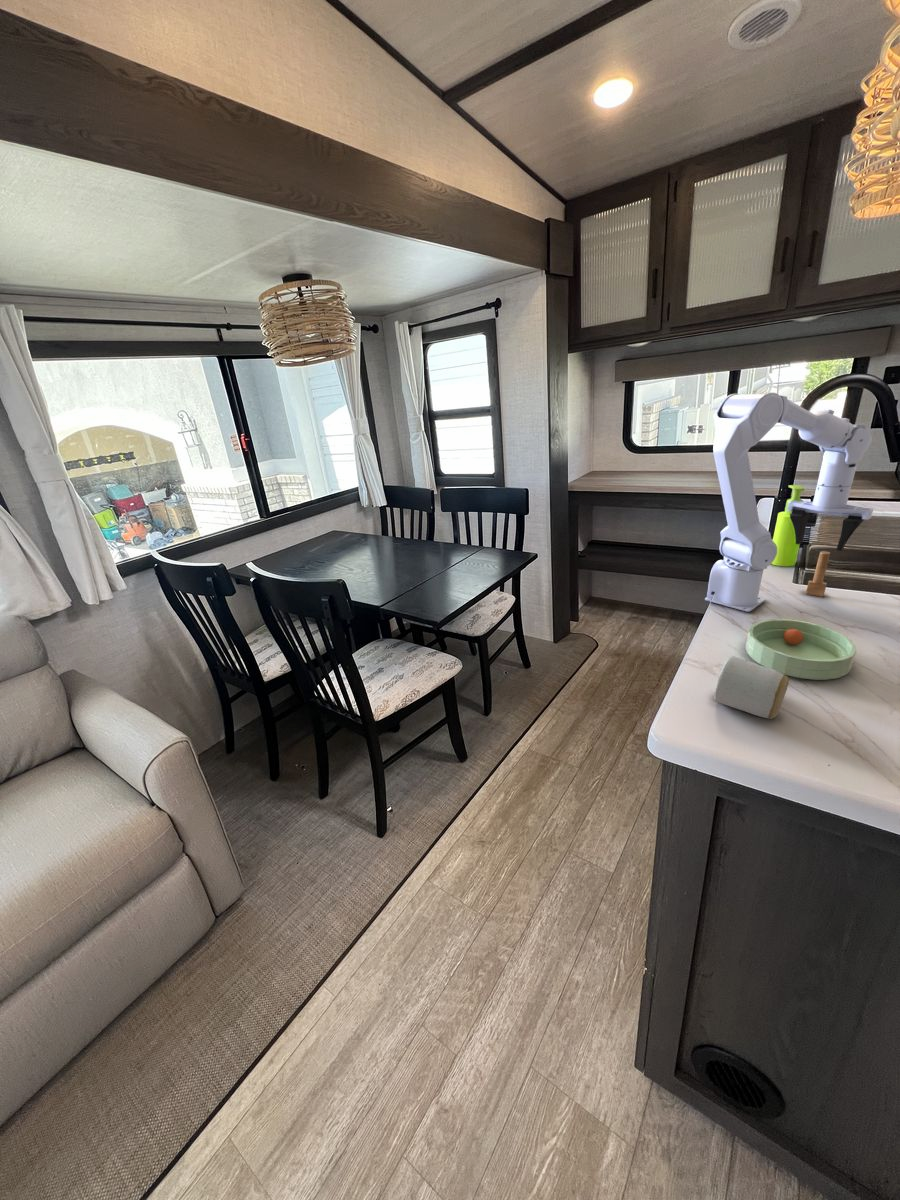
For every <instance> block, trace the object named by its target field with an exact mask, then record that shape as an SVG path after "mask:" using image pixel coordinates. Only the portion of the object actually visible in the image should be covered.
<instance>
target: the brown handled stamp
mask: <svg viewBox="0 0 900 1200" xmlns="http://www.w3.org/2000/svg"><path fill="white" fill-rule="evenodd" d="M830 558H831V552H829V551H827V550H826V551H823V550H822V551H820V552H819V555H818V559H817V563H816V567H815V571H814V574H813V578H812V580H808V582H807V587H806V590H805V595H807V596H808V595H809V596H815V597H821V598H822V597H823V598H824V596H825V592H826V588H827V583H828V582H825V581H824V579H825V576H826V572H827V569H828V565H829V560H830Z"/></svg>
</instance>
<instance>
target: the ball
mask: <svg viewBox="0 0 900 1200" xmlns="http://www.w3.org/2000/svg"><path fill="white" fill-rule="evenodd" d="M783 638H784V640H785V642H786V643H788V644H790V645H798V644H800V643H801V642H802V641H803V639H804V636H803V634H802V632H800V631H799V630H796V629H790V630H787V631H786V632H785V633H784V636H783Z"/></svg>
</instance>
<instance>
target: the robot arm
mask: <svg viewBox="0 0 900 1200" xmlns="http://www.w3.org/2000/svg"><path fill="white" fill-rule="evenodd" d="M834 413H835V411H834V410H832V409H830V408H829V409H828V408H827V409H826V408H824V409H822V410H816V411H813V412H811V411H809V410H808V409H805V408H804V407H802V406H800V405H799V404H798V403H795V402H793V401H791V400H789V399H788V396H787V395H781V394H779V393H777V392H766V393H731V394H729V395H727V396H726V397H725V398H723V400H722V401H721V402H720V404H719V405H718V407H717V409H716V410H715V412H714V413H713V420H714V426H715V435H714V441H713V448H712V451H713V458H714V462H715V467H716V473H717V478H718V483H719V488H720V493H721V498H722V503H723V507H724V513H725V518H726V522H727V525H726V526H725V527H723V529H722V530H721V531H720V534H719V535H720V542H719V553H720V555H722V557H723V559H719V560H717V561H716V562H715V563H714V564H713V566H712V568H711V571H710V574H709V580H708V585H707V593H706V597H705V598H704V601H706V602H710V603H713V604H717V605H720V606H723V607H728V608H731V609H736V610H739V611H743V612H746V613H750V612H752V611H753V610H754V609H756V608H758V606H760V605H761V604H763V603H764V602H765V598H762V597H759V593H760V589H761V584H762V579H763V574H764V570H766V569H768V567H769V566H771V565H772V564H771V563H772V562H773V561H774V559H775V557H776V555H777V546H776V544H775V543H774V542H773V538H772V535H771V532H770V531H769V530H768V529H767V528H766V527H765V526H764V525H763V524H762V523H761V522H760V517H759V512H758V506H757V499H756V494H755V487H754V482H753V475H752V469H751V464H750V458H749V457H750V456H749V450H750V449H751V448H752V447H754V446H756V445H757V444H758V443H759V442H760V441H761V440H762V439H763V438H764V437H765V436H766V435H767V434H768V433H769V432H770V431H771V430H772V429H773V428H774V427H775V426H776V424H782V425H784V426H787V427H790V428H793V429H795V430H798V435H799V437H800V438H801V439H802V440H804V441H806V442H808V443H811V444H814V445H816V446H818V448H819V451H820V452H821V453H823V457H822V462H821V467H820V470H819V474H818V480H817V483H816V488H815V493H814V497H813V500H812V501H808V500H807V501H804V500H803V501H790V502H788V507H787V511H792V513H791V514H790V519H791V521H792V523H793V526H794V530H795V538H796V543H795V544H800V545H801V544H802V543H803V541H804V538H805V533H806V528H807V525H808V521H809V518H810V515H811V514H821V515H830V516H838V517H846V518H844V519H843V520H842V524H841V525H842V527H841V533H840V536H839V540H838V543H837V546H836V551H838V552H841V551H843V550H844V549H845V547H846V544H847V542H848V541H849V539H850V538H851V536H852V535H853V533H854V532H855V531H856V530H857V529H858V528H859V526H860V525H861V524H862V523H863V522H864V521H866V520H867V521H868V520H870V519H871V518H872V516H873V513H874V508H869V507H863V506H858V505H857V506H856V505H851V504H848V500H849V497H850V493H851V489H852V485H853V481H854V478H855V474H856V471H857V466H858V463H860V462H861V461H862V460H863V456H864V454H865V452H866V451H867V450H868V448H869V447H870V445H871V443H872V442H873V438H872V432H871V430H870V428H868V427H867V426H866V425H864V424H852V423H851V422H850V418H847V417H838V416H836V415H834ZM714 595H715V597H714ZM713 597H714V599H713ZM712 599H713V601H712Z"/></svg>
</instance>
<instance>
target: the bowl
mask: <svg viewBox="0 0 900 1200" xmlns="http://www.w3.org/2000/svg"><path fill="white" fill-rule="evenodd" d="M790 629H796V630H799V631H800V632H802V634H803V636H804V639H803V641H802V642H801V643H800V644H798V645H790V644H788V643H786V642H785V640H784V638H783V636H784V633H785V632H786V631H787V630H790ZM745 651H746V654H747V655H748V656H749V657H750V658H751V659H752V660H753V661H755V662H756V663H757V664H758V665H761V666H763V667H767V668H770V669H773V670H775V671H778V672H780V673H782V674H784V675H786V676H787V677H788V676H789V677H791V678H797V679H803V680H817V681H819V680H820V681H821V680H833V679H834V680H835V679H839V678H842V677H844V676H846V675H848V674H849V672H850V671H851V670H852V667H853V664H854V661H855V657H856V654H857V646H856V644H855V643H854V642H853V640H851V639H850V638H849V637H848V636H846V635H845V634H843V633H841V632H839V631H837V630H836V629H833V628H830V627H827V626H824V625H821V624H818V623H815V622H809V621H806V620H805V621H804V620H798V619H788V618H772V619H764V620H760V621H757V622H754V623H752V625H751V626H749V629H748V632H747V637H746V642H745Z"/></svg>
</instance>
